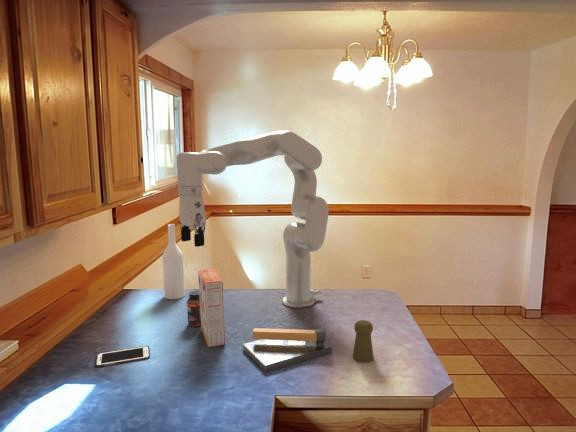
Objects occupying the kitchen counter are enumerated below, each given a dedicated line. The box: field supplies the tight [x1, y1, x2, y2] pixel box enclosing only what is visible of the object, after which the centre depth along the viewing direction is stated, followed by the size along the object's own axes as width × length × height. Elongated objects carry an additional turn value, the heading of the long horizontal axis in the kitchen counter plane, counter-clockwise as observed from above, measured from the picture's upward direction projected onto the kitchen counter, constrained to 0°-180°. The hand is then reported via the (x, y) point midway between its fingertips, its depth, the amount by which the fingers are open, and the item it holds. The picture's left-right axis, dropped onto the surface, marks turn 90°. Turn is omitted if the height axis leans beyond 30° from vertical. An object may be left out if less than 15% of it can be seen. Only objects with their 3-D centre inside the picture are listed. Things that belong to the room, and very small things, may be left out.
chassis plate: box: [242, 328, 333, 373], centre depth 129 cm, size 22×15×4 cm
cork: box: [352, 319, 375, 364], centre depth 124 cm, size 6×6×11 cm
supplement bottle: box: [186, 290, 201, 328], centre depth 149 cm, size 6×6×11 cm
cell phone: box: [94, 345, 151, 368], centre depth 127 cm, size 8×15×1 cm, turn 110°
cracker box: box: [197, 268, 226, 348], centre depth 137 cm, size 14×6×21 cm, turn 19°
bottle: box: [162, 223, 186, 300], centre depth 175 cm, size 8×8×30 cm
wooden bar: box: [252, 327, 327, 342], centre depth 129 cm, size 22×3×3 cm, turn 85°
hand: (192, 243), depth 141 cm, fingers open, 9 cm apart
